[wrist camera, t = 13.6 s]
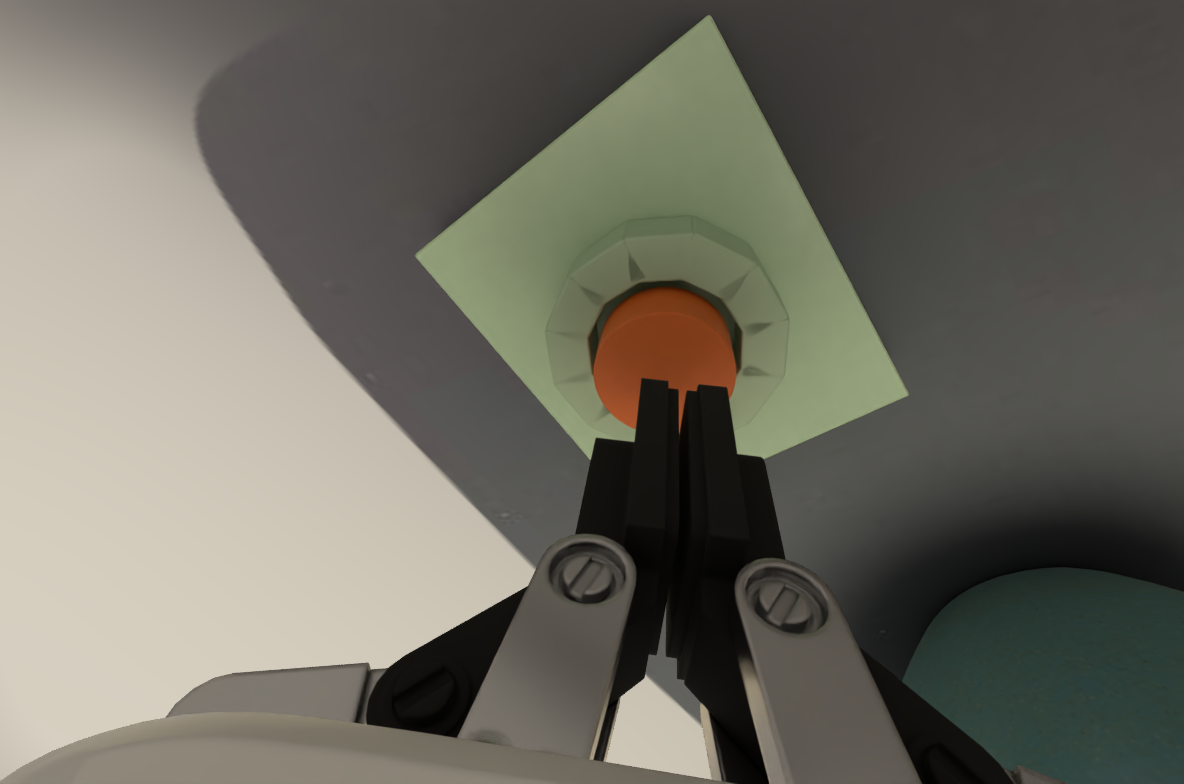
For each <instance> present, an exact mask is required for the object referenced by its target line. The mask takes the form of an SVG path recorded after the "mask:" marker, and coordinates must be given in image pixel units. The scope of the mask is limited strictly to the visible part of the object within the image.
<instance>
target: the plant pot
mask: <svg viewBox="0 0 1184 784" xmlns="http://www.w3.org/2000/svg"><path fill="white" fill-rule="evenodd" d="M902 682H903V683H904V684H906V685H907V686H908V687H909V688H910V689H912V690H913V691H914V692H915V693H917V694H918V695H919V696H920V697H922V698H923V699H924V700H925V701H926V702H928V703H929V704H930V705H931V706H933V707H934V708H935V709H936V710H938V711H939V712H940V713H941V714H943V715H944V716H945V717H946V718H947V719H949V720H950V721H951V722H952V723H954V724H955V725H956V726H957V727H959V728H960V729H961V730H962V731H963V732H965V733H966V734H967V735H968V736H970V737H971V738H972V739H973V740H975V741H976V742H977V743H978V744H980V745H981V746H982V747H983V748H984V749H985V750H986V751H987V752H988V753H989V754H990V755H991V756H992V757H993V758H994V759H995V760H996V761H997V762H998V763H999V764H1000V765H1001V766H1002V768H1005V769H1007V770H1010V771H1013V770H1014V769H1015V768H1016V767H1017V766H1018V765H1020V766H1023V767H1025V768H1028V769H1031V770H1033V771H1036V772H1039V773H1042V774H1044V775H1047V776H1050V777H1052V778H1055V779H1058V780H1060V781H1063V782H1066V783H1069V784H1184V592H1183V591H1179V590H1176V589H1172V588H1169V587H1165V586H1162V585H1158V584H1154V583H1151V582H1147V581H1142V580H1138V579H1134V578H1130V577H1126V576H1122V575H1118V574H1114V573H1108V572H1103V571H1097V570H1089V569H1079V568H1067V567H1058V568H1040V569H1032V570H1025V571H1020V572H1016V573H1012V574H1007V575H1003V576H999V577H997V578H994V579H991V580H988V581H985V582H983V583H980V584H978V585H976V586H974V587H972V588H970V589H968V590H967V591H965V592H963V593H962V594H960V595H958V596H957V597H956V598H954V599H953V600H952V601H951V602H949V603H948V604H947V605H946V606H945V607H944V608H943V609H942V610H941V611H940V612H939V613H938V615H937V616H936V617H935V618H934V619H933V621H932V622H931V624H930V625H929V627H928V628H927V630H926V631H925V633H924V635H923V637H922V639H921V641H920V643H919V645H918V647H917V649H916V651H915V653H914V655H913V657H912V659H911V661H910V664H909V666H908V668H907V670H906V673H905V675H904V677H903V680H902Z"/></svg>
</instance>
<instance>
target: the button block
mask: <svg viewBox="0 0 1184 784" xmlns="http://www.w3.org/2000/svg"><path fill="white" fill-rule="evenodd" d="M415 257H416V258H417V259H418V260H419V262H420V263H421V264H422V265H423V266H424V267H425V269H426V270H427V271H428V272H429V273H430V274H431V275H432V277H433V278H434V279H435V280H436V281H437V282H438V284H439V285H440V286H441V287H442V288H443V289H444V291H445V292H446V293H447V294H448V295H449V296H450V298H451V299H452V300H453V301H454V302H455V303H456V305H457V306H458V307H459V308H460V309H461V310H462V311H463V313H464V314H465V315H466V316H467V317H468V318H469V320H470V321H471V322H472V323H473V324H474V325H475V327H476V328H477V329H478V330H479V331H480V332H481V334H482V335H483V336H484V337H485V338H486V339H487V340H488V342H489V343H490V344H491V345H492V346H493V347H494V349H495V350H496V351H497V352H498V353H499V354H500V356H501V357H502V358H503V359H504V360H505V361H506V363H507V364H508V365H509V366H510V367H511V368H512V370H513V371H514V372H515V373H516V374H517V375H518V376H519V378H520V379H521V380H522V381H523V382H524V383H525V385H526V386H527V387H528V388H529V389H530V390H531V392H532V393H533V394H534V395H535V396H536V397H537V399H538V400H539V401H540V402H541V403H542V404H543V405H544V407H545V408H546V409H547V410H548V411H549V412H550V414H551V415H552V416H553V417H554V418H555V419H556V421H557V422H558V423H559V424H560V425H561V426H562V428H563V429H564V430H565V431H566V432H567V433H568V435H569V436H570V437H571V438H572V439H573V440H574V441H575V443H576V444H577V445H578V446H579V447H580V448H581V450H582V451H583V452H584V453H585V454H586V455H587V457H588V458H589V459H590V460H591V457H592V452H593V447H594V443H595V439H596V438H604V439H613V440H622V441H630V442H634V441H635V432H636V429H633V428H631V427H629V426H627V425H625V424H624V423H622V422H621V421H619V420H618V419H617V418H615V417H614V416H613V415H612V414H611V413H610V412H609V411H608V410H607V409H606V407H605V406H604V404H603V403H602V401H601V399H600V398H599V396H598V393H597V390H596V388H595V383H594V373H593V370H594V362H595V358H596V354H597V350H598V346H599V342H600V338H601V334H602V330H603V327H604V325H605V322H606V320H607V319H608V317H609V315H610V314H611V313H612V311H613V310H614V309H615V308H616V307H617V306H618V305H619V304H620V303H621V302H622V301H624V300H625V299H627V298H628V297H630V296H632V295H633V294H635V293H638V292H640V291H643V290H646V289H650V288H656V287H676V288H682V289H685V290H689V291H691V292H694V293H696V294H698V295H700V296H702V297H704V298H705V299H706V300H708V301H709V302H710V303H711V304H712V305H714V306H715V307H716V308H717V310H718V311H719V312H720V314H721V315H722V317H723V318H724V320H725V322H726V325H727V327H728V330H729V335H730V339H731V344H732V349H733V354H734V358H735V363H736V374H737V375H736V383H735V387H734V391H733V393H732V395H731V398H730V399H729V402H730V408H731V415H732V422H733V428H734V435H735V442H736V448H737V454H742V455H750V456H759V457H762V458H763V459H765V458H768V457H770V456H772V455H774V454H777V453H779V452H781V451H784V450H786V449H788V448H790V447H793V446H795V445H797V444H799V443H802V442H804V441H806V440H809V439H811V438H813V437H815V436H818V435H820V434H822V433H825V432H827V431H829V430H831V429H834V428H836V427H838V426H840V425H843V424H845V423H847V422H850V421H852V420H854V419H856V418H859V417H861V416H863V415H865V414H868V413H870V412H872V411H875V410H877V409H879V408H881V407H884V406H886V405H888V404H890V403H893V402H895V401H897V400H900V399H902V398H904V397H906V396H908V395H909V393H908V391H907V389H906V387H905V385H904V383H903V381H902V379H901V378H900V376H899V374H898V372H897V370H896V368H895V366H894V364H893V362H892V360H891V358H890V357H889V355H888V353H887V351H886V349H885V347H884V345H883V343H882V341H881V339H880V337H879V336H878V334H877V332H876V330H875V328H874V326H873V324H872V322H871V320H870V318H869V316H868V314H867V313H866V311H865V309H864V307H863V305H862V303H861V301H860V299H859V297H858V295H857V293H856V292H855V290H854V288H853V286H852V284H851V282H850V280H849V278H848V276H847V274H846V272H845V271H844V269H843V267H842V265H841V263H840V261H839V259H838V257H837V255H836V253H835V251H834V249H833V248H832V246H831V244H830V242H829V240H828V238H827V236H826V234H825V232H824V230H823V228H822V227H821V225H820V223H819V221H818V219H817V217H816V215H815V213H814V211H813V209H812V207H811V206H810V204H809V202H808V200H807V198H806V196H805V194H804V192H803V190H802V188H801V186H800V184H799V183H798V181H797V179H796V177H795V175H794V173H793V171H792V169H791V167H790V165H789V163H788V162H787V160H786V158H785V156H784V154H783V152H782V150H781V148H780V146H779V144H778V142H777V141H776V139H775V137H774V135H773V133H772V131H771V129H770V127H769V125H768V123H767V121H766V119H765V118H764V116H763V114H762V112H761V110H760V108H759V106H758V104H757V102H756V100H755V98H754V97H753V95H752V93H751V91H750V89H749V87H748V85H747V83H746V81H745V79H744V77H743V76H742V74H741V72H740V70H739V68H738V66H737V64H736V62H735V60H734V58H733V56H732V54H731V53H730V51H729V49H728V47H727V45H726V43H725V41H724V39H723V37H722V35H721V33H720V32H719V30H718V28H717V26H716V24H715V22H714V20H713V18H712V16H710V15H708V16H706V17H705V18H704V19H702V20H701V21H700V22H699V23H697V24H696V25H695V26H694V27H693V28H691V29H690V30H689V31H688V32H686V33H685V34H684V35H683V36H682V37H680V38H679V39H678V40H677V41H675V42H674V43H673V44H672V45H671V46H669V47H668V48H667V49H666V50H664V51H663V52H662V53H661V54H660V55H658V56H657V57H656V58H655V59H653V60H652V61H651V62H650V63H649V64H647V65H646V66H645V67H644V68H642V69H641V70H640V71H639V72H638V73H636V74H635V75H634V76H633V77H631V78H630V79H629V80H628V81H627V82H625V83H624V84H623V85H622V86H620V87H619V88H618V89H617V90H616V91H614V92H613V93H612V94H611V95H609V96H608V97H607V98H606V99H605V100H603V101H602V102H601V103H600V104H598V105H597V106H596V107H595V108H593V109H592V110H591V111H590V112H589V113H587V114H586V115H585V116H584V117H582V118H581V119H580V120H579V121H578V122H576V123H575V124H574V125H573V126H571V127H570V128H569V129H568V130H567V131H565V132H564V133H563V134H562V135H560V136H559V137H558V138H557V139H556V140H554V141H553V142H552V143H551V144H549V145H548V146H547V147H546V148H545V149H543V150H542V151H541V152H540V153H538V154H537V155H536V156H535V157H534V158H532V159H531V160H530V161H529V162H527V163H526V164H525V165H524V166H523V167H521V168H520V169H519V170H518V171H516V172H515V173H514V174H513V175H512V176H510V177H509V178H508V179H507V180H505V181H504V182H503V183H502V184H501V185H499V186H498V187H497V188H496V189H494V190H493V191H492V192H491V193H490V194H488V195H487V196H486V197H485V198H483V199H482V200H481V201H480V202H479V203H477V204H476V205H475V206H474V207H472V208H471V209H470V210H469V211H468V212H466V213H465V214H464V215H463V216H461V217H460V218H459V219H458V220H456V221H455V222H454V223H453V224H452V225H450V226H449V227H448V228H447V229H445V230H444V231H443V232H442V233H441V234H439V235H438V236H437V237H436V238H434V239H433V240H432V241H431V242H430V243H428V244H427V245H426V246H425V247H423V248H422V249H421V250H420V251H419V252H417V253H416V255H415Z"/></svg>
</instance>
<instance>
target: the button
mask: <svg viewBox="0 0 1184 784" xmlns="http://www.w3.org/2000/svg"><path fill="white" fill-rule="evenodd" d="M593 373H594V383H595V388H596V390H597V393H598V396H599V398H600V399H601V401H602V403H603V404H604V406H605V407H606V409H607V410H608V411H609V412H610V413H611V414H612V415H613V416H614V417H615V418H617V419H618V420H619V421H621V422H622V423H624V424H625V425H627V426H629V427H631V428H633V429H636V423H637V414H638V405H639V396H640V387H641V378H646V379H656V380H665V381H669V388H672V389H679V433H680V427H681V421H682V415H683V408H684V402H685V396H686V392H687V390H691V391H697V387H698V385H699V384H703V385H712V386H721V387H727V389H728V395H729V399H730V398H731V395H732V393H733V391H734V387H735V383H736V375H737V374H736V363H735V358H734V354H733V349H732V344H731V339H730V335H729V330H728V327H727V325H726V322H725V320H724V318H723V317H722V315H721V314H720V312H719V311H718V310H717V308H716V307H715V306H714V305H712V304H711V303H710V302H709V301H708V300H706V299H705V298H704V297H702V296H700V295H698V294H696V293H694V292H691V291H689V290H685V289H682V288H676V287H656V288H650V289H646V290H643V291H640V292H638V293H635V294H633V295H632V296H630V297H628V298H627V299H625V300H624V301H622V302H621V303H620V304H619V305H618V306H617V307H616V308H615V309H614V310H613V311H612V313H611V314H610V315H609V317H608V319H607V320H606V322H605V325H604V327H603V330H602V334H601V338H600V342H599V346H598V350H597V354H596V358H595V362H594V370H593Z"/></svg>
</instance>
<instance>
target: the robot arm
mask: <svg viewBox="0 0 1184 784" xmlns="http://www.w3.org/2000/svg"><path fill="white" fill-rule="evenodd" d="M666 602H667V604H666ZM665 607H666V657H671V658H677V679H682V680H684V684H685V685H686V686H687V688H688V689H689V690H690V691H691V692H692V693H693V694H694V695H695V696H696V698H697V699H698V700H699V701H700V702H701V705H700V707H701V722H702V728H703V733H704V738H705V744H706V750H707V755H708V761H709V766H710V772H711V777H712V780H710V779H704V778H698V777H692V776H686V775H679V774H673V773H668V772H662V771H656V770H650V769H644V768H637V767H632V766H625V765H620V764H613V763H608V762H606V758H607V754H608V750H609V746H610V742H611V737H612V733H613V729H614V725H615V721H616V717H617V713H618V709H619V704H620V697H621V696H622V695H623V694H625V693H626V692H627V691H628V690H630V689H631V688H632V687H633V686H635V685H636V684H638V683H639V682H640V681H641V680H643V679H644V677H645V672H646V666H647V661H648V655H649V654H651V655H657V650H658V644H659V639H660V634H661V628H662V623H663V618H664V612H665ZM0 784H1069V783H1066V782H1063V781H1060V780H1058V779H1055V778H1052V777H1050V776H1047V775H1044V774H1042V773H1039V772H1036V771H1033V770H1031V769H1028V768H1025V767H1023V766H1020V765H1018V766H1017V767H1016V768H1015V769H1014V770H1013V771H1010V770H1007V769H1005V768H1002V766H1001V765H1000V764H999V763H998V762H997V761H996V760H995V759H994V758H993V757H992V756H991V755H990V754H989V753H988V752H987V751H986V750H985V749H984V748H983V747H982V746H981V745H980V744H978V743H977V742H976V741H975V740H973V739H972V738H971V737H970V736H968V735H967V734H966V733H965V732H963V731H962V730H961V729H960V728H959V727H957V726H956V725H955V724H954V723H952V722H951V721H950V720H949V719H947V718H946V717H945V716H944V715H943V714H941V713H940V712H939V711H938V710H936V709H935V708H934V707H933V706H931V705H930V704H929V703H928V702H926V701H925V700H924V699H923V698H922V697H920V696H919V695H918V694H917V693H915V692H914V691H913V690H912V689H910V688H909V687H908V686H907V685H906V684H904V683H903V682H902V681H901V680H899V679H898V678H897V677H896V676H894V675H893V674H892V673H891V672H889V671H888V670H887V669H886V668H885V667H883V666H882V665H881V664H880V663H878V662H877V661H876V660H875V659H873V658H872V657H871V656H870V655H869V654H867V653H866V652H865V651H864V650H862V649H861V648H860V647H859V646H858V644H857V642H856V640H855V638H854V636H853V634H852V632H851V629H850V627H849V625H848V623H847V621H846V619H845V616H844V614H843V612H842V610H841V608H840V606H839V603H838V601H837V599H836V597H835V596H834V594H833V593H832V591H831V590H830V588H829V587H828V585H827V584H826V583H825V582H824V581H823V580H821V579H820V578H819V577H818V576H817V575H816V574H815V573H813V572H812V571H810V570H808V569H807V568H805V567H803V566H802V565H799V564H796V563H794V562H791V561H788V560H786V559H785V555H784V550H783V545H782V540H781V536H780V531H779V526H778V522H777V517H776V512H775V508H774V503H773V498H772V494H771V489H770V484H769V480H768V475H767V470H766V466H765V462H764V459H763V458H762V457H759V456H750V455H742V454H737V448H736V442H735V435H734V428H733V422H732V415H731V408H730V402H729V395H728V389H727V387H721V386H712V385H703V384H699V385H698V387H697V391H691V390H687V392H686V396H685V402H684V408H683V415H682V421H681V427H680V433H679V389H672V388H669V381H665V380H656V379H646V378H641V387H640V396H639V405H638V414H637V423H636V432H635V441H634V442H630V441H622V440H613V439H604V438H596V439H595V443H594V447H593V452H592V457H591V462H590V467H589V471H588V476H587V481H586V486H585V491H584V495H583V500H582V505H581V510H580V515H579V519H578V524H577V529H576V534H575V535H571V536H568V537H566V538H563V539H560V540H558V541H557V542H556V543H554V544H553V545H552V546H550V547H549V548H548V549H547V551H546V552H545V553H544V555H543V556H542V558H541V560H540V562H539V564H538V566H537V568H536V570H535V572H534V575H533V577H532V579H531V581H530V583H529V585H528V586H527V587H525V588H524V589H522V590H520V591H518V592H517V593H515V594H513V595H511V596H509V597H508V598H506V599H504V600H502V601H501V602H499V603H497V604H495V605H494V606H492V607H490V608H488V609H487V610H485V611H483V612H481V613H479V614H478V615H476V616H474V617H472V618H471V619H469V620H467V621H465V622H464V623H462V624H460V625H458V626H456V627H455V628H453V629H451V630H449V631H448V632H446V633H444V634H442V635H441V636H439V637H437V638H435V639H433V640H432V641H430V642H428V643H427V644H425V645H423V646H421V647H419V648H418V649H416V650H414V651H412V652H410V653H409V654H407V655H405V656H404V657H402V658H401V659H400V660H398V661H397V662H395V663H394V664H393V665H391V666H390V667H389V668H386V669H373V670H371V669H370V666H369V663H359V664H346V665H332V666H319V667H307V668H294V669H281V670H268V671H255V672H243V673H232V674H228V675H224V676H220V677H216V678H213V679H211V680H209V681H208V682H205V683H203V684H201V685H200V686H198V687H196V688H194V689H193V690H192V691H190V692H189V693H188V694H187V695H186V696H184V697H183V698H182V699H181V700H180V701H179V702H177V703H176V704H175V705H174V707H173V708H172V709H171V711H170V712H169V714H168V715H167V716H166V718H162V719H156V720H151V721H145V722H141V723H137V724H133V725H130V726H126V727H122V728H118V729H115V730H111V731H108V732H104V733H101V734H98V735H95V736H92V737H89V738H85V739H82V740H80V741H77V742H74V743H72V744H69V745H67V746H64V747H62V748H59V749H56V750H54V751H51V752H49V753H47V754H45V755H43V756H42V757H40V758H38V759H36V760H34V761H32V762H30V763H28V764H26V765H24V766H22V767H21V768H19V769H18V770H16V771H15V772H13V773H12V774H10V775H9V776H7V777H6V778H4V779H3V780H1V781H0Z"/></svg>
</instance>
